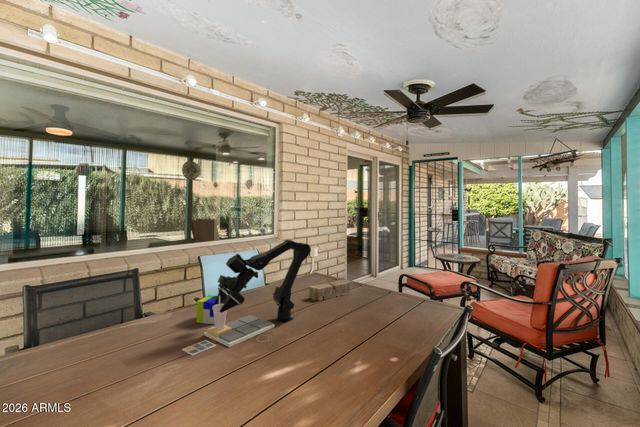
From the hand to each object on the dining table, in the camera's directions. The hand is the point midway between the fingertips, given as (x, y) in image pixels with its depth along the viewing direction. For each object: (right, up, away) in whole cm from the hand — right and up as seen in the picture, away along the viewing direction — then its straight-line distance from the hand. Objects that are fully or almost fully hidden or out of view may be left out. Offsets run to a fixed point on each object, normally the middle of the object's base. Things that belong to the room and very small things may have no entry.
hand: (216, 308), depth 125 cm
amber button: (+1, -11, +1) cm, 11 cm away
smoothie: (+1, -9, +1) cm, 9 cm away
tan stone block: (+51, -12, +60) cm, 80 cm away
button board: (+9, -11, +5) cm, 15 cm away
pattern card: (-3, -11, -11) cm, 16 cm away
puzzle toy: (-8, -11, +18) cm, 22 cm away
